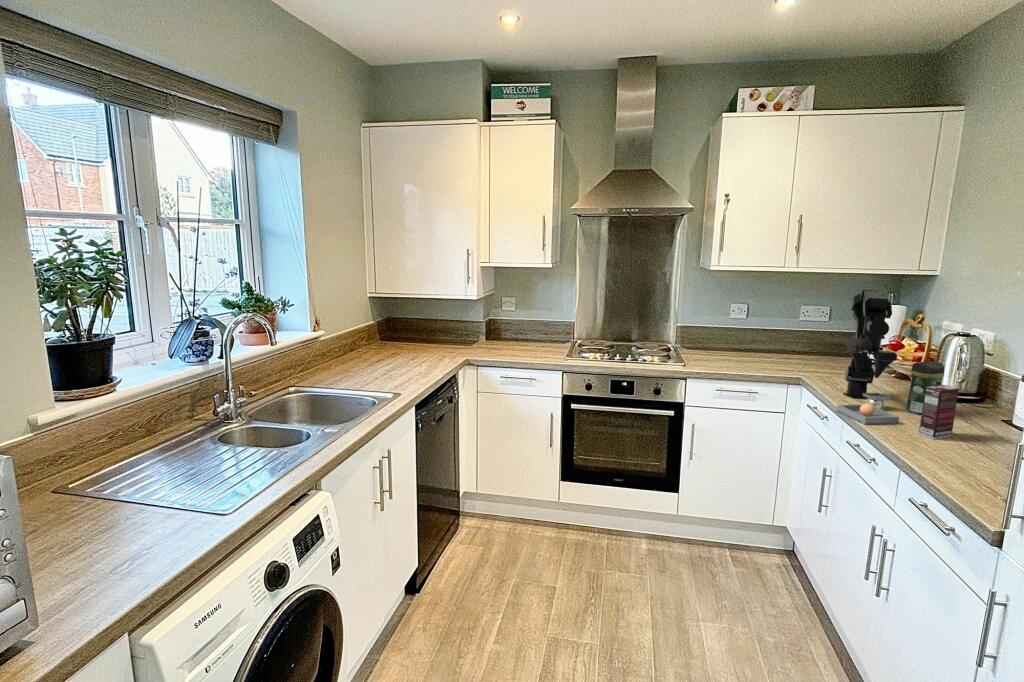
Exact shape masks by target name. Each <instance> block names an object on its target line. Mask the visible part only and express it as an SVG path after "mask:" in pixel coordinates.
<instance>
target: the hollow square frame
mask: <svg viewBox="0 0 1024 682" xmlns="http://www.w3.org/2000/svg"><path fill="white" fill-rule="evenodd" d="M863 396H865V397H867V398H866V404H871V405H872V406H874V407H876V408H879V409H881V410H883V411H884V406H885V401H890V400H891V397H890V396H888V395H885V394H882V393H879V392H867V393H863Z"/></svg>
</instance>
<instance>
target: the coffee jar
mask: <svg viewBox="0 0 1024 682" xmlns="http://www.w3.org/2000/svg"><path fill="white" fill-rule="evenodd" d="M944 375H945V365H944V364H943V362H938V361H933V360H929V361H920V362H919V361H917V362H914V363H913V364H912V367H911V382H910V388H909V392H908V397H907V401H906V406H905V409H906V411H909V412H910V413H912V414H919V415H922V409H923V402H924V395H925V389H926V387H930V386H939V385H942V381H943V378H944Z"/></svg>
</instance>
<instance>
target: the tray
mask: <svg viewBox="0 0 1024 682" xmlns="http://www.w3.org/2000/svg"><path fill="white" fill-rule="evenodd" d="M862 405H863V404H837V406H836V412H837V413H838V414H841V415H843V416H845V417H847V418H849V419H852V420H854V421H855V422H857V423H860V424H862V425H864V426H874V425H876V426H877V425H879V426H880V425H881V426H882V425H883V426H885V425H899V424H900V423H899V422H900V416H897V415H896V414H893V413H890V412H887V411H886V410H884V409H883V410H881V409H879V408H876V407H874V406H873V407H874V408H875V412H874V414H873V415H871V416H864V415H862V414H861V412H860V407H861V406H862Z"/></svg>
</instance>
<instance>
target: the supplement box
mask: <svg viewBox="0 0 1024 682" xmlns="http://www.w3.org/2000/svg"><path fill="white" fill-rule="evenodd" d="M959 391H960V390H959V387H956V386H952V385H947V384H941V385H939V386H930V387H926V389H925V395H924V402H923V409H922V414H921V417H920V423H919V431H918V435H919V436H921V435H922V437H923V438H924V437H925V438H928V439H931V440H937V439H944V438H949V437H950V438H951V437H952V435H953V429H954V422H955V415H956V409H957V403H958V395H959Z"/></svg>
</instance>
